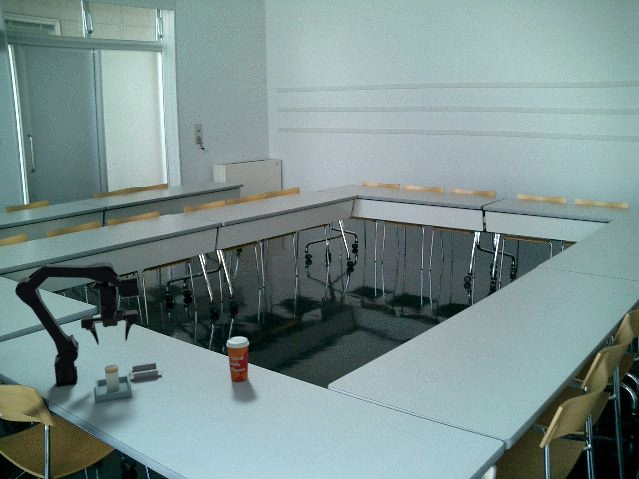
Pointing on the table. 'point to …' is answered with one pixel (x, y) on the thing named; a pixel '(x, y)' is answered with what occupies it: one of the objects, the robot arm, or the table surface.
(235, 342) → the paper cup
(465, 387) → the table surface
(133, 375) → the clip rails
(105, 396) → the tray
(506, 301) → the table surface
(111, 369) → the cylinder
